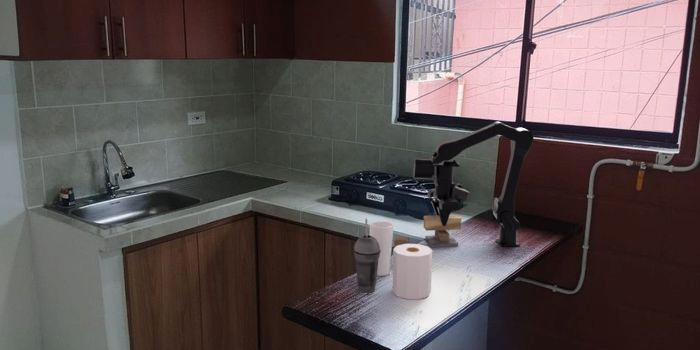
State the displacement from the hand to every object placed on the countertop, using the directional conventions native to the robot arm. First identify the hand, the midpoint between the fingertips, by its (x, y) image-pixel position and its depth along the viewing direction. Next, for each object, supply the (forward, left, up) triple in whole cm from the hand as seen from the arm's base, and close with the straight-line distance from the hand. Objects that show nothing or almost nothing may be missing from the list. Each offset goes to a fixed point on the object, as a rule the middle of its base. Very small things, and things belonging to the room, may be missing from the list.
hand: (442, 223), depth 196 cm
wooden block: (-18, +18, -7) cm, 26 cm away
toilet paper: (-40, +20, -7) cm, 45 cm away
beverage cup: (-38, +32, -7) cm, 50 cm away
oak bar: (0, 0, -2) cm, 2 cm away
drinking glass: (-26, +26, -7) cm, 37 cm away
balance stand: (0, 0, -6) cm, 6 cm away
